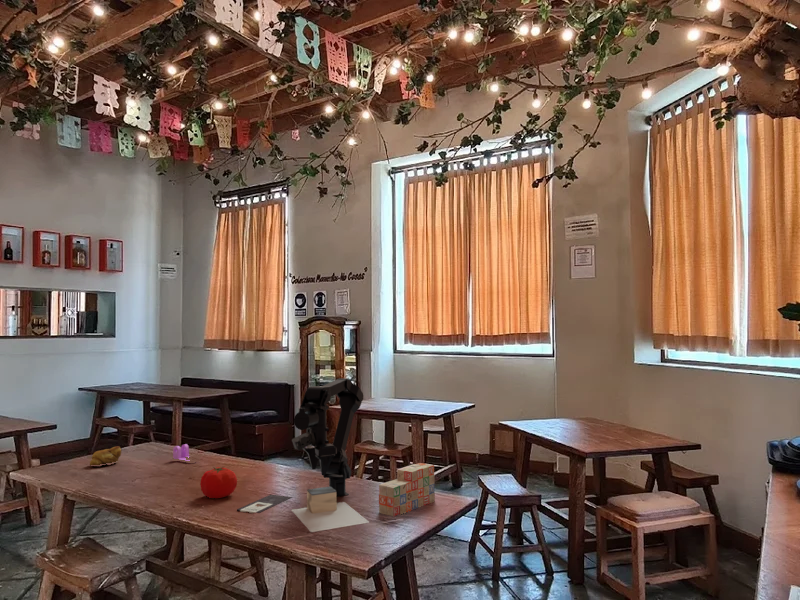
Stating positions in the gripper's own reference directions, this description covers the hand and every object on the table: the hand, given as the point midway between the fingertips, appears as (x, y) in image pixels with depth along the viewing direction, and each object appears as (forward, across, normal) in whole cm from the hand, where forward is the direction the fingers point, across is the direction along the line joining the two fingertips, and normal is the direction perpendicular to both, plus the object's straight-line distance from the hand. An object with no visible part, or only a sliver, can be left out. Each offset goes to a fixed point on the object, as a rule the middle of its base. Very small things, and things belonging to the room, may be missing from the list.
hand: (318, 472), depth 191 cm
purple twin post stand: (+12, -94, -28) cm, 99 cm away
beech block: (+11, +5, -1) cm, 12 cm away
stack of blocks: (+11, +17, +24) cm, 32 cm away
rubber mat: (+11, +13, -1) cm, 17 cm away
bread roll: (+12, -107, -61) cm, 124 cm away
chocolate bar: (+12, -11, -15) cm, 22 cm away
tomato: (+11, -29, -27) cm, 41 cm away
